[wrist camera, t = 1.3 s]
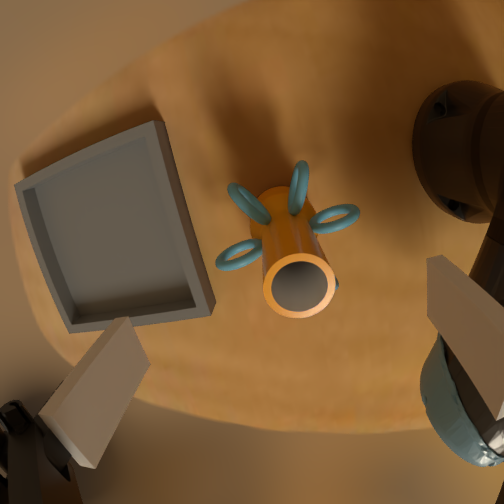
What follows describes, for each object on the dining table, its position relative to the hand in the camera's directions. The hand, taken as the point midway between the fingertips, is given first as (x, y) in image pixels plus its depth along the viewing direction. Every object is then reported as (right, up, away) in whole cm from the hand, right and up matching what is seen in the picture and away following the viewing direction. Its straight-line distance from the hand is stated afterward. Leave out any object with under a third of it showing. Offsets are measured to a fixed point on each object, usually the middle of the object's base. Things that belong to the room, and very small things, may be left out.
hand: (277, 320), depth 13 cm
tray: (-17, +5, +21) cm, 28 cm away
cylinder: (+2, +6, +19) cm, 20 cm away
